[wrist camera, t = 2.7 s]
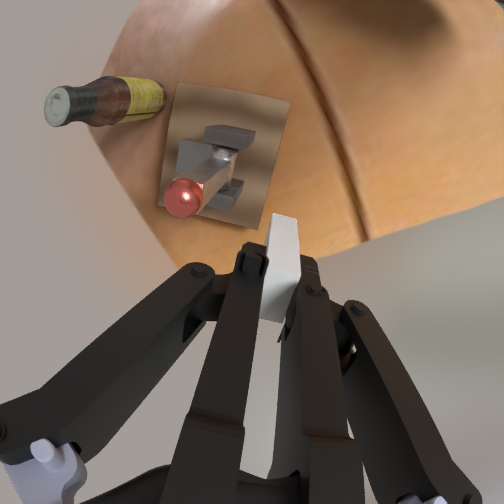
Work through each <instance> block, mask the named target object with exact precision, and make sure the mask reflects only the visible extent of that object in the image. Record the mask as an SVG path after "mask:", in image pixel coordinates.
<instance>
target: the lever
mask: <svg viewBox="0 0 504 504" xmlns="http://www.w3.org/2000/svg"><path fill="white" fill-rule="evenodd" d="M237 153H238V149H236V148H232V147H228V146H223V145H218V144H213V143H208V142H203V141H200V140H195V139H189V138H184V139H181V140H180V145H179V151H178V158H177V164H176V170H175V173H180V175H178V176H177V177H175V178H174V179H173V182H171V183H170V184H169V185H168V186H167V188H166V190H165V192H164V197H163V200H164V205H165V208H166V209H167V211H168V212H169V213H170V214H171V215H173V216H175V217H177V218H189V217H191V216H193V215H195V214H198V213H199V212H200V211H201V210H202V209H203V208H204V206H205V205H206V204H207V203H208V202H209V201H210V199H211V198H212V197H213V196H214V195H215V194H216V193H217V192H218V190H229V189H230V185H231V181H232V176H233V171H234V167H235V162H236V158H237Z"/></svg>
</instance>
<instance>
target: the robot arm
mask: <svg viewBox="0 0 504 504" xmlns="http://www.w3.org/2000/svg"><path fill="white" fill-rule="evenodd" d="M495 1H496V2H497V3H498V4H499V5H500V6H501V7H502V8H503V10H504V0H495ZM285 315H286V320H285V324H284V326H283V329H282V331H281V334H280V336H279V339H278V341H277V342H278V343H279V342H280V340H281V357H280V374H279V389H278V403H277V416H276V428H275V440H274V451H273V462H272V466H271V469H270V471H269V473H268V476H267V479H263V478H260V477H257V476H254V475H252V474H249V473H246V472H244V471H242V470H239V468H240V462H241V455H242V450H243V443H244V436H245V427H244V426H243V421H244V414H245V408H246V402H247V395H248V389H249V382H250V375H251V369H252V361H253V355H254V349H255V342H256V335H257V327H258V321H259V318H261V319H266V320H270V321H274V322H278V323H283V320H284V318H285ZM206 321H217V324H216V327H215V330H214V333H213V336H212V339H211V343H210V346H209V349H208V352H207V355H206V359H205V362H204V365H203V368H202V371H201V374H200V378H199V381H198V384H197V387H196V390H195V394H194V397H193V400H192V404H191V407H190V410H189V412H188V413H187V415H186V418H185V420H184V423H183V427H182V429H181V433H180V436H179V439H178V443H177V446H176V449H175V453H174V456H173V459H172V462H171V464H169V465H164V466H160V467H156V468H154V469H151V470H149V471H147V472H145V473H143V474H141V475H140V476H137V477H136V478H134V479H132V480H130V481H128V482H126V483H124V484H122V485H120V486H118V487H116V488H114V489H112V490H110V491H108V492H105V493H103V494H101V495H99V496H96V497H94V498H92V499H90V500H87V501H85V502H82V503H80V504H365V491H364V476H363V464H364V467H365V470H366V473H367V476H368V479H369V482H370V485H371V488H372V491H373V493H374V496H375V498H376V500H377V502H378V504H482V496H481V494H480V492H479V491H478V489H477V488H476V487H475V486H474V485H473V484H472V483H471V481H470V480H469V479H468V478H467V477H466V476H465V474H464V473H463V472H462V471H461V470H460V469H459V468H458V466H457V465H456V464H455V463H454V462H453V461H452V459H451V457H450V454H449V452H448V450H447V448H446V446H445V444H444V441H443V439H442V437H441V435H440V433H439V431H438V429H437V427H436V425H435V423H434V421H433V419H432V417H431V415H430V413H429V411H428V409H427V407H426V405H425V404H424V402H423V400H422V398H421V396H420V394H419V392H418V391H417V389H416V387H415V385H414V383H413V381H412V380H411V378H410V376H409V374H408V372H407V371H406V369H405V367H404V365H403V364H402V362H401V360H400V358H399V357H398V355H397V353H396V352H395V350H394V348H393V347H392V345H391V343H390V342H389V340H388V338H387V337H386V335H385V333H384V332H383V330H382V328H381V327H380V325H379V323H378V322H377V320H376V319H375V317H374V315H373V314H372V312H371V311H370V309H369V308H368V307H367V306H365V305H364V304H363V303H361V302H359V301H355V300H348V301H346V302H345V304H344V306H342V305H339V304H337V303H335V302H333V301H331V300H330V299H329V294H328V292H327V290H326V289H325V288H324V287H323V286H321V282H320V277H319V271H318V265H317V263H316V261H315V260H314V259H313V258H312V257H308V256H304V255H301V254H300V253H299V241H298V230H297V219H295V218H291V217H287V216H284V215H280V214H276V213H273V214H272V218H271V221H270V225H269V229H268V232H267V236H266V239H265V243H264V246H263V245H260V244H256V243H252V242H247V243H245V244H244V245H243V246H242V249H241V251H239V252H238V254H237V258H236V262H235V267H234V271H233V272H232V273H229V274H225V275H216V274H215V271H214V270H213V268H212V267H210V266H208V265H207V264H203V263H198V262H193V263H188V264H186V265H185V266H183V267H182V268H181V269H180V270H178V271H177V272H176V273H175V274H173V275H172V276H171V277H170V278H168V279H167V280H166V281H165V282H164V283H162V284H161V285H160V286H159V287H157V288H156V289H155V290H154V291H152V292H151V293H150V294H149V295H148V296H146V297H145V298H144V299H143V300H142V301H140V302H139V303H138V304H137V305H136V306H134V307H133V308H132V309H131V310H130V311H128V312H127V313H126V314H125V315H124V316H122V317H121V318H120V319H119V320H118V321H117V322H115V323H114V324H113V325H112V326H111V327H109V328H108V329H107V330H106V331H105V332H103V333H102V334H101V335H100V336H99V337H98V338H96V339H95V340H94V341H93V342H92V343H91V344H90V345H88V346H87V347H86V348H85V349H84V350H83V351H81V352H80V353H79V354H78V355H77V356H76V357H75V358H74V359H72V360H71V361H70V362H69V363H68V364H67V365H66V366H64V367H63V368H62V369H61V370H60V371H59V372H58V373H57V374H56V375H54V376H53V377H52V378H51V379H50V380H49V381H48V382H47V383H46V384H44V386H42V387H41V388H40V389H38V390H35V391H33V392H31V393H28V394H26V395H23V396H21V397H18V398H16V399H13V400H11V401H8V402H6V403H3V404H1V405H0V461H1V462H2V463H3V465H4V467H5V469H6V471H7V473H8V475H9V477H10V479H11V481H12V483H13V485H14V487H15V489H16V491H17V493H18V495H19V496H20V498H21V500H22V502H23V503H24V504H74V496H75V494H76V492H77V491H78V490H79V489H80V488H81V487H82V486H83V485H84V484H85V482H86V479H87V470H86V467H85V465H84V464H85V463H87V462H88V461H89V460H90V459H92V458H93V457H94V456H96V455H97V454H98V453H99V452H100V451H101V450H102V449H103V448H104V447H105V446H106V445H107V444H108V442H109V441H110V440H111V439H112V438H113V436H114V435H115V434H116V433H117V432H118V431H119V429H120V428H121V427H122V426H123V424H124V423H125V422H126V421H127V420H128V418H129V417H130V416H131V415H132V414H133V412H134V411H135V410H136V409H137V408H138V406H139V405H140V404H141V403H142V402H143V400H144V399H145V398H146V397H147V395H148V394H149V393H150V392H151V391H152V389H153V388H154V387H155V386H156V385H157V383H158V382H159V381H160V380H161V378H162V377H163V376H164V375H165V374H166V372H167V371H168V370H169V369H170V367H171V366H172V365H173V364H174V362H175V361H176V360H177V359H178V358H179V356H180V355H181V354H182V353H183V352H184V350H185V349H186V348H187V347H188V345H189V344H190V343H191V341H192V340H193V339H194V338H195V337H196V336H197V334H198V333H199V332H200V330H201V329H202V328H203V327H204V326H205V324H206ZM354 345H355V347H356V350H357V351H356V352H355V353H354V351H353V349H352V348H353V346H354ZM347 419H348V422H349V424H350V427H351V430H352V433H353V436H354V439H352V438H350V436H349V434H348V426H347ZM362 462H363V464H362Z"/></svg>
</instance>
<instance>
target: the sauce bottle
mask: <svg viewBox="0 0 504 504" xmlns="http://www.w3.org/2000/svg"><path fill="white" fill-rule="evenodd" d="M166 97H167V96H166V91H165V89H164V87H163V86H162V85H161V84H160V83H159V82H156V81H153V80H151V79H143V78H132V77H118V76H105V77H101V78H99V79H97V80H95V81H93V82H91V83H89V84H87V85H85V86H81V87H71V86H60V87H57V88H55V89H53V90H52V91H51V92H50V93H49V95H48V96H47V98H46V101H45V107H44V114H45V119H46V121H47V122H48V124H49V125H51V126H53V127H59V126H64V125H67V124H69V123H70V122H74V121H82V122H84V123H86V124H88V125H90V126H93V127H99V126H104V125H114V124H119V123H125V122H130V121H136V120H143V119H148V118H151V117H153V116H155V115H157V114H158V113H159V112H161V111H162V109H163V108H164V106H165V102H166Z"/></svg>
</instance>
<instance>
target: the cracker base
mask: <svg viewBox="0 0 504 504" xmlns="http://www.w3.org/2000/svg"><path fill="white" fill-rule="evenodd" d="M290 103H291V102H287V101H283V100H279V99H275V98H271V97H266V96H262V95H257V94H252V93H247V92H242V91H237V90H231V89H225V88H219V87H212V86H205V85H198V84H189V83H180V82H177V87H176V92H175V96H174V101H173V106H172V111H171V117H170V122H169V128H168V134H167V140H166V146H165V153H164V160H163V167H162V174H161V182H160V191H159V200H158V206H163V207H165V205H164V200H163V197H164V192H165V190H166V188H167V186H168V185H169V184H170V183H171V182H173V179H174V178H175V177H177V176H178V175H180V173H175V170H176V164H177V158H178V151H179V145H180V140H181V139H184V138H189V139H195V140H200V141H203V142H208V143H213V144H218V145H223V146H228V147H232V148H236V149H238V153H237V158H236V162H235V167H234V171H233V176H232V181H231V185H230V189H229V190H218V192H217V193H216V194H215V195H214V196H213V197H212V198H211V199H210V201H209V202H208V203H207V204H206V205H205V206H204V208H203V209H202V210H201V211H200V212H199V213H198V214H196V215H200V216H204V217H208V218H212V219H216V220H220V221H224V222H228V223H232V224H236V225H239V226H243V227H247V228H251V229H255V230H258V226H259V222H260V219H261V215H262V211H263V207H264V203H265V199H266V196H267V192H268V188H269V184H270V180H271V176H272V172H273V169H274V165H275V161H276V157H277V153H278V149H279V146H280V142H281V138H282V134H283V130H284V126H285V123H286V119H287V115H288V111H289V107H290Z"/></svg>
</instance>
